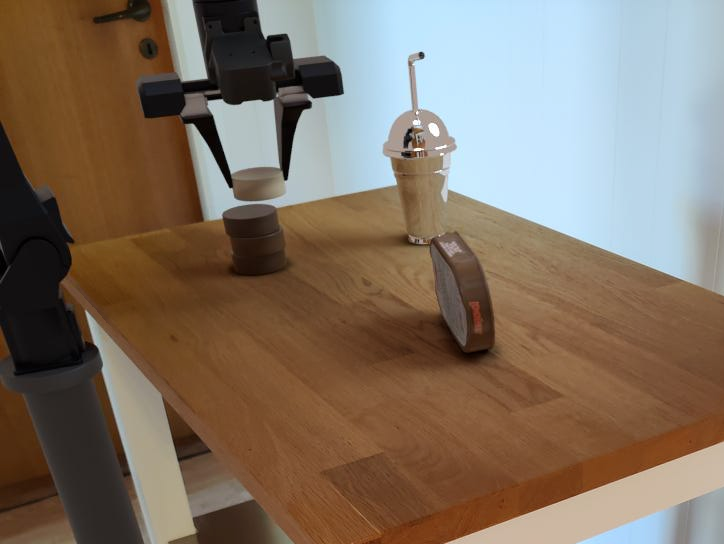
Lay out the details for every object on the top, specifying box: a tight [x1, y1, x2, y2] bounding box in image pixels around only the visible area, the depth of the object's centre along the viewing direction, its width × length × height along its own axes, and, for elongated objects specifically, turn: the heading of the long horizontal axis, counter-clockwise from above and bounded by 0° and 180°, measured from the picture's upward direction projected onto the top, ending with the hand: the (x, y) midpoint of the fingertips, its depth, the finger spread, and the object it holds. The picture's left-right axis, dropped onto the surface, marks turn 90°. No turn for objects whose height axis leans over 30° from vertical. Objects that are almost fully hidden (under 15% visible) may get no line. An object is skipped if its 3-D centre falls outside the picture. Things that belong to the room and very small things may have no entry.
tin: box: [429, 230, 496, 354], centre depth 91 cm, size 15×3×8 cm, turn 14°
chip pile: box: [221, 203, 288, 276], centre depth 112 cm, size 6×6×6 cm
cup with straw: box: [381, 51, 458, 245], centre depth 112 cm, size 8×9×20 cm
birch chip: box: [231, 166, 287, 202], centre depth 99 cm, size 5×5×2 cm
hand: (257, 183), depth 99 cm, fingers closed on birch chip, 5 cm apart
